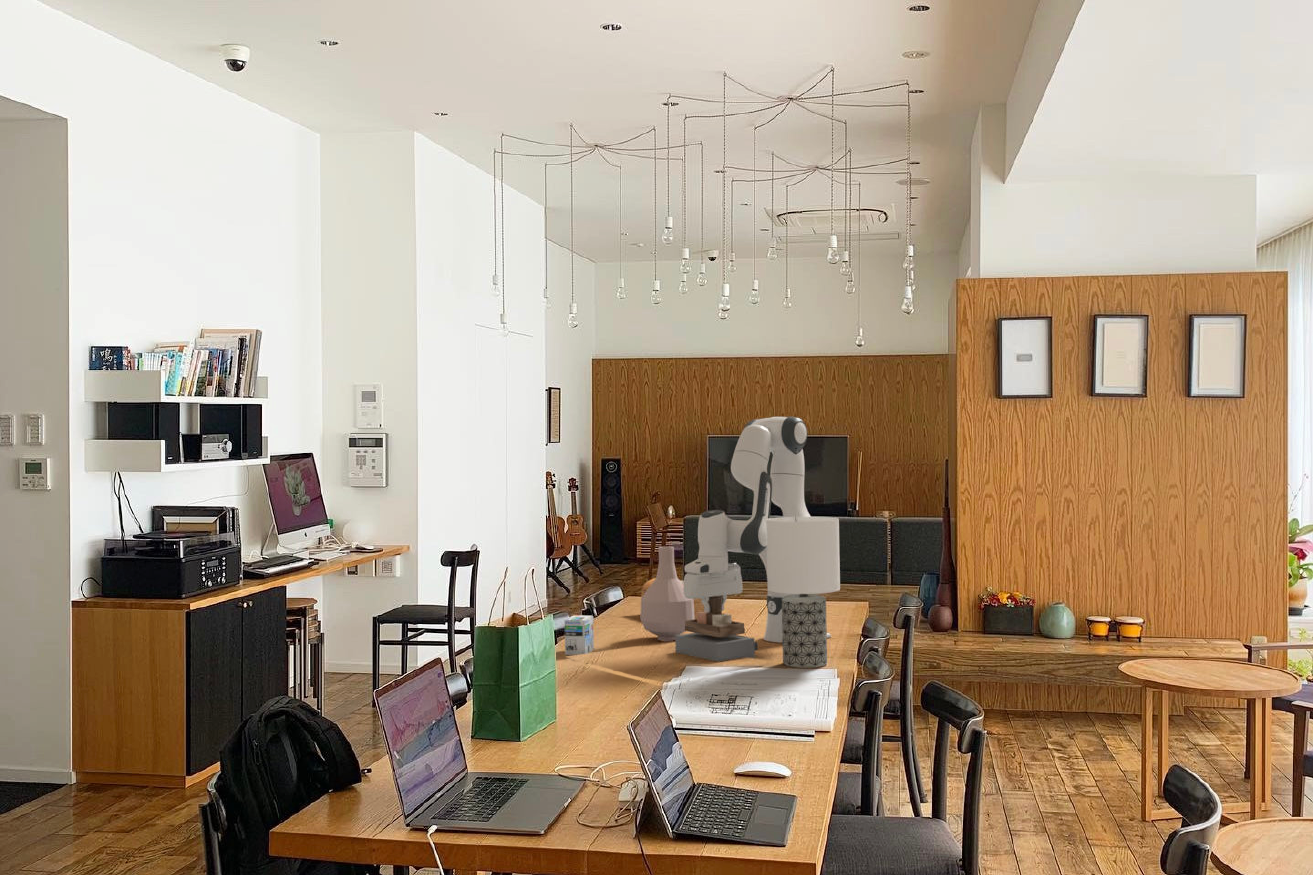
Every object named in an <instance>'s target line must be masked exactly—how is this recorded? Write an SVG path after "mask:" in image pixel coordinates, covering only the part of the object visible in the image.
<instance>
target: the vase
mask: <svg viewBox="0 0 1313 875" xmlns="http://www.w3.org/2000/svg"><path fill="white" fill-rule="evenodd" d="M676 569H677V568H676V566H675V547H674V546H659V547H658V566H657V571H656V577H655V578H656V579H655V580H654V582H653V583H652V584H651V586H650V587H649V588H648V590H647V591H646V593H645V594H644V595H643V597H642V598H641V597H640V618H639V619H640V621H641V623H642V626H643V628H644V630H645V631H647V632H649V633H651V634H653V635H655V636H657V640H658V641H659V640H663V641H662V642H674V641H673V640H675V641H676V637H675V635H682V634H685V632H686V631H685V621H687V620H694V619H695V615H694V599H688V598H686V597H685V596H684V586H683V584H682V583H681V582H680V579H679V578H678V575H677V574H678V573H677V570H676Z"/></svg>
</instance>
